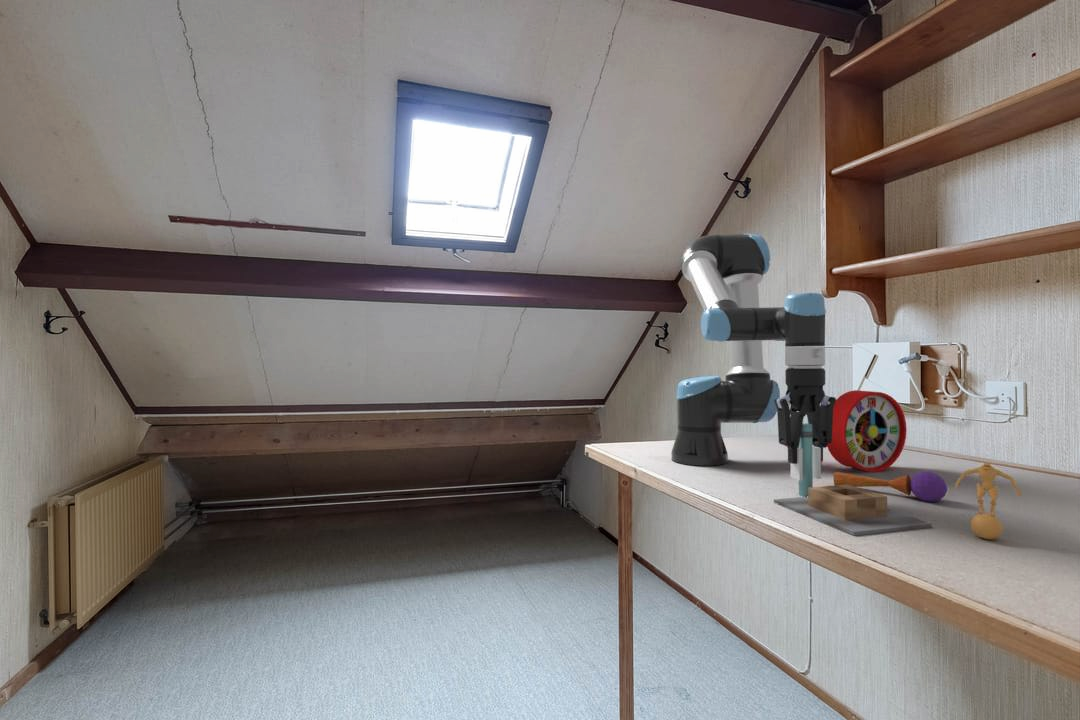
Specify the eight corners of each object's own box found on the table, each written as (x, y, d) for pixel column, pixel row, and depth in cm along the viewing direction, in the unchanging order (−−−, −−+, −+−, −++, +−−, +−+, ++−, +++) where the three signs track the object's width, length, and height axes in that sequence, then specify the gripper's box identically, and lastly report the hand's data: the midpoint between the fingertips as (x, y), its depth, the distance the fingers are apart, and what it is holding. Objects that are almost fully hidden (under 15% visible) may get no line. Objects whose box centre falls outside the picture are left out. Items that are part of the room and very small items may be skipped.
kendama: (840, 466, 122) (948, 473, 107) (841, 493, 121) (950, 503, 106) (831, 465, 118) (941, 472, 103) (831, 492, 117) (943, 503, 102)
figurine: (952, 536, 86) (952, 462, 86) (956, 526, 91) (956, 457, 91) (1021, 548, 81) (1021, 469, 81) (1021, 537, 85) (1021, 463, 85)
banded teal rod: (795, 493, 113) (795, 423, 113) (806, 492, 113) (806, 422, 113) (804, 497, 110) (804, 425, 110) (815, 496, 111) (815, 424, 111)
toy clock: (843, 475, 129) (843, 393, 128) (824, 470, 134) (824, 391, 134) (906, 469, 134) (906, 390, 134) (885, 464, 140) (885, 389, 140)
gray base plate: (773, 502, 107) (773, 482, 106) (840, 496, 110) (840, 476, 110) (853, 535, 87) (853, 510, 87) (931, 527, 91) (931, 503, 91)
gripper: (782, 368, 106) (783, 485, 106) (852, 366, 110) (853, 479, 110) (758, 367, 113) (759, 476, 113) (825, 366, 117) (826, 471, 117)
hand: (805, 477), depth 112 cm, fingers open, 4 cm apart
